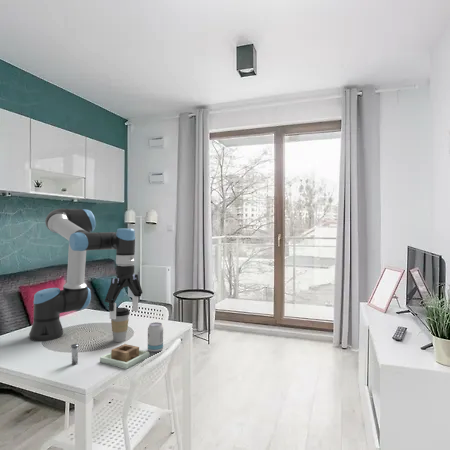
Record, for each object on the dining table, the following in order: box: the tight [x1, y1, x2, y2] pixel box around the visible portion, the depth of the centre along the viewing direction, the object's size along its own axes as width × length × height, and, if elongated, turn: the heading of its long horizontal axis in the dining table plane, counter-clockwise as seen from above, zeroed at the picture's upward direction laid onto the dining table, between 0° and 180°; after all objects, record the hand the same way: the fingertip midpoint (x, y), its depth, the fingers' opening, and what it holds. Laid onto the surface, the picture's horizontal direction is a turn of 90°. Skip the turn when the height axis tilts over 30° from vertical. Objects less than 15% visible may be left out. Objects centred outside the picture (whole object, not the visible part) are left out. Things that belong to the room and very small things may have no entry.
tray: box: [99, 349, 150, 370], centre depth 145 cm, size 14×14×2 cm
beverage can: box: [147, 321, 164, 354], centre depth 155 cm, size 7×7×12 cm
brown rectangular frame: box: [110, 343, 140, 362], centre depth 145 cm, size 10×8×4 cm
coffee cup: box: [110, 307, 131, 343], centre depth 168 cm, size 9×9×15 cm
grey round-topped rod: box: [70, 343, 80, 366], centre depth 140 cm, size 3×3×8 cm
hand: (124, 314), depth 145 cm, fingers open, 13 cm apart
